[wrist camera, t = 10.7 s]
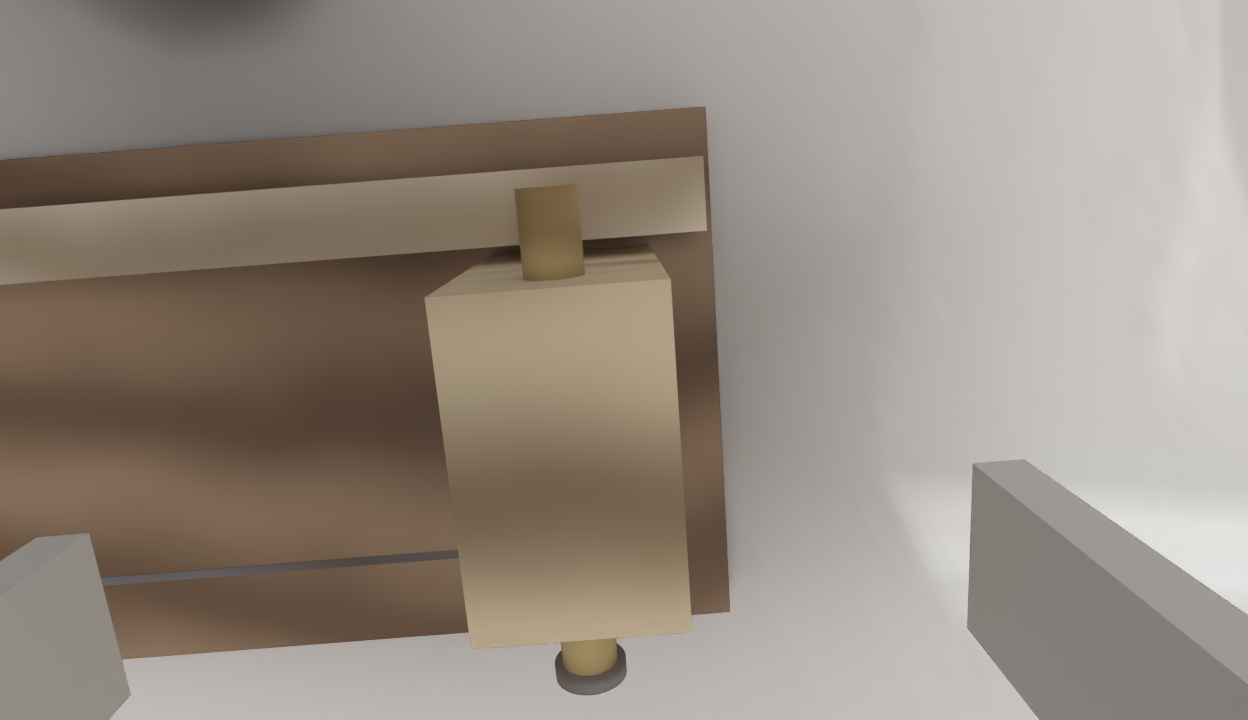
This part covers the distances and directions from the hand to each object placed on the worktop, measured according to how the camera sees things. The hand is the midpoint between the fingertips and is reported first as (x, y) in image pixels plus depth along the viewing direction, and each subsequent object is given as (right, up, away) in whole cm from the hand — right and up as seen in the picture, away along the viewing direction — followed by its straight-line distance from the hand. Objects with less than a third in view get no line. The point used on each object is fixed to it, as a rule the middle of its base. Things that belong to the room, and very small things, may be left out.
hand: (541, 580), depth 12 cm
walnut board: (-8, +2, +16) cm, 18 cm away
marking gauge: (0, +3, +14) cm, 14 cm away
